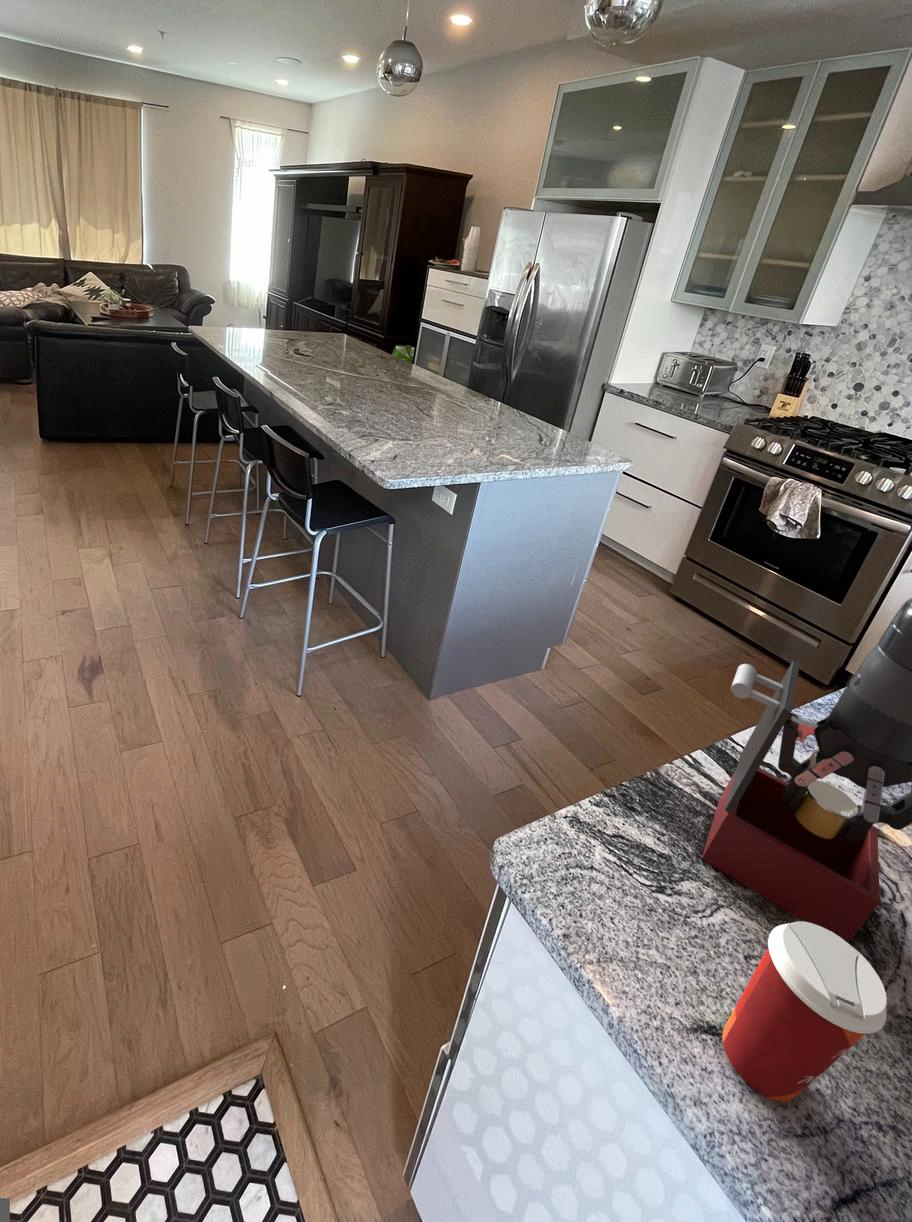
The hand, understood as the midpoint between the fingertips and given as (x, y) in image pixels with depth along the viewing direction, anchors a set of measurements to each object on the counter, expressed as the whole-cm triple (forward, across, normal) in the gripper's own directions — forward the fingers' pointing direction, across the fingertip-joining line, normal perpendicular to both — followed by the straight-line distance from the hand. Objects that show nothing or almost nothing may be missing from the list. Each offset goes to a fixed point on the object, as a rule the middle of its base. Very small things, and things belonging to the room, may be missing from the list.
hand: (816, 821), depth 68 cm
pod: (0, 0, 0) cm, 0 cm away
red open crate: (+9, +1, 0) cm, 9 cm away
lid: (-7, +7, 0) cm, 10 cm away
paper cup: (+9, 0, +24) cm, 26 cm away
